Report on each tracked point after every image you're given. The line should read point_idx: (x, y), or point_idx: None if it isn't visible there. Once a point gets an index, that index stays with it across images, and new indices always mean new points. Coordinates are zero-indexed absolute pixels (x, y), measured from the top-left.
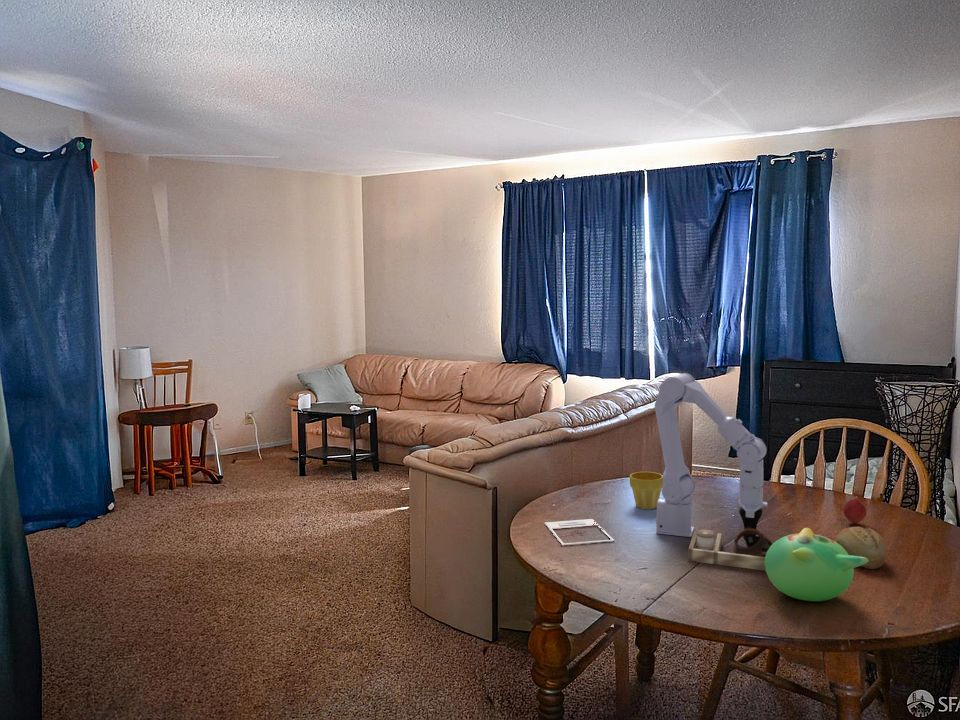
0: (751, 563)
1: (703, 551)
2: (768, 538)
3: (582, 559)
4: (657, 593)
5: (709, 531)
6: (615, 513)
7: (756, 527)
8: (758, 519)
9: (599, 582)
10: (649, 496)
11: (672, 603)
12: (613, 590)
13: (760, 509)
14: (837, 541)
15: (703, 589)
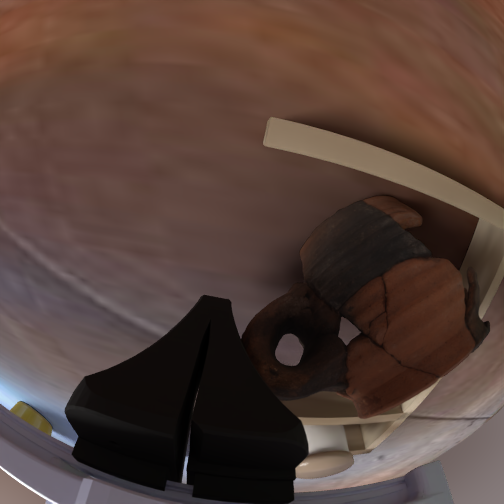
0: None
1: (390, 433)
2: (450, 285)
3: None
4: (465, 422)
5: (312, 465)
6: None
7: (240, 339)
8: (277, 399)
9: (409, 466)
10: None
11: (493, 402)
12: (435, 452)
13: (131, 435)
14: None
15: (486, 383)
